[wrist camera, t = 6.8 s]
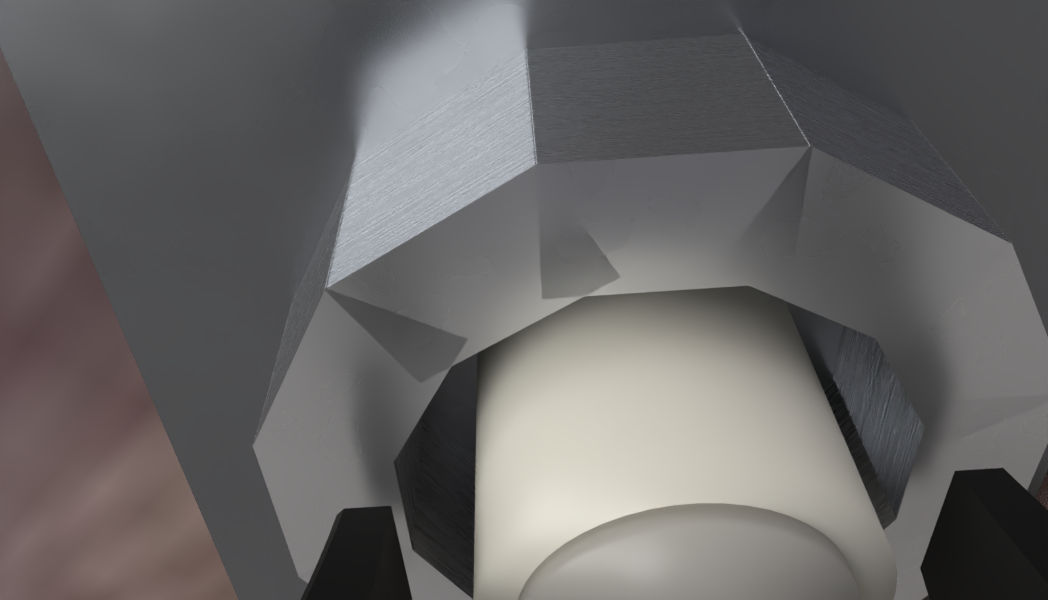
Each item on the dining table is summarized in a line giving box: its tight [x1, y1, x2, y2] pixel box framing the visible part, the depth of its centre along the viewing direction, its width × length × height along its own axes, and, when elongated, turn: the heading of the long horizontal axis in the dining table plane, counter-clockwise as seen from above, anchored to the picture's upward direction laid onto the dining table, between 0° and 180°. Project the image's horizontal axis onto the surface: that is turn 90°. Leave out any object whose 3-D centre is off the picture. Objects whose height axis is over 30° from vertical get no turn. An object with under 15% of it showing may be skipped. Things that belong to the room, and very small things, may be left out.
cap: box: [473, 286, 897, 600], centre depth 13 cm, size 5×5×5 cm
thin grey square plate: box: [0, 0, 1048, 600], centre depth 14 cm, size 16×16×4 cm
